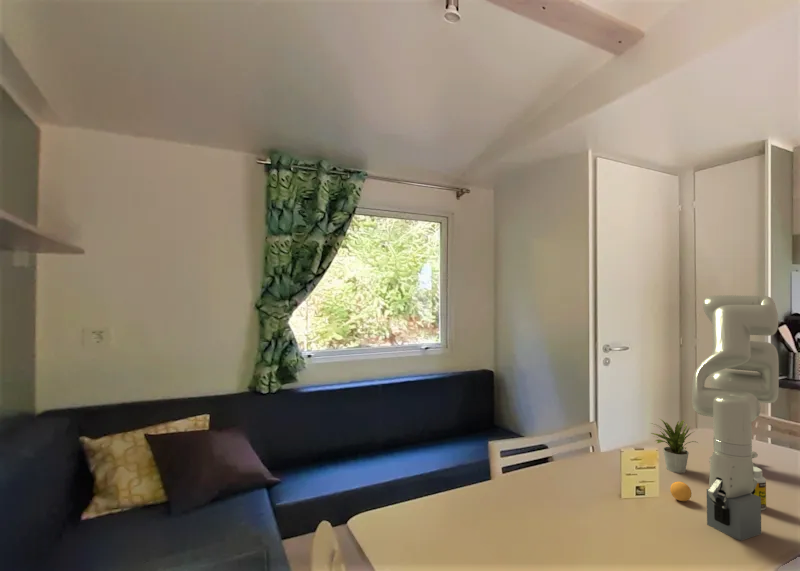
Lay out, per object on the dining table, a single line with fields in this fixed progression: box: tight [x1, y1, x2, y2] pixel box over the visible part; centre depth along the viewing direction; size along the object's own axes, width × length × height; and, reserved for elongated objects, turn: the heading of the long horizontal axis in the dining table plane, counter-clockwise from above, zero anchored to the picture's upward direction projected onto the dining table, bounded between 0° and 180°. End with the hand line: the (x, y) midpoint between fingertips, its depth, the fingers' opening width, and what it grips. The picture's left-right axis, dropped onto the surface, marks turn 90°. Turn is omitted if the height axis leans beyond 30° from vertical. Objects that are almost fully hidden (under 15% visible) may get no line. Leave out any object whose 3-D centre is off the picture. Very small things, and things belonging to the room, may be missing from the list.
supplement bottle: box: [753, 466, 767, 511], centre depth 119 cm, size 6×6×10 cm
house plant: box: [650, 418, 699, 474], centre depth 144 cm, size 14×14×16 cm
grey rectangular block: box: [706, 488, 762, 542], centre depth 108 cm, size 8×8×9 cm
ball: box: [669, 481, 692, 502], centre depth 122 cm, size 5×5×5 cm
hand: (733, 518), depth 108 cm, fingers closed on grey rectangular block, 7 cm apart
